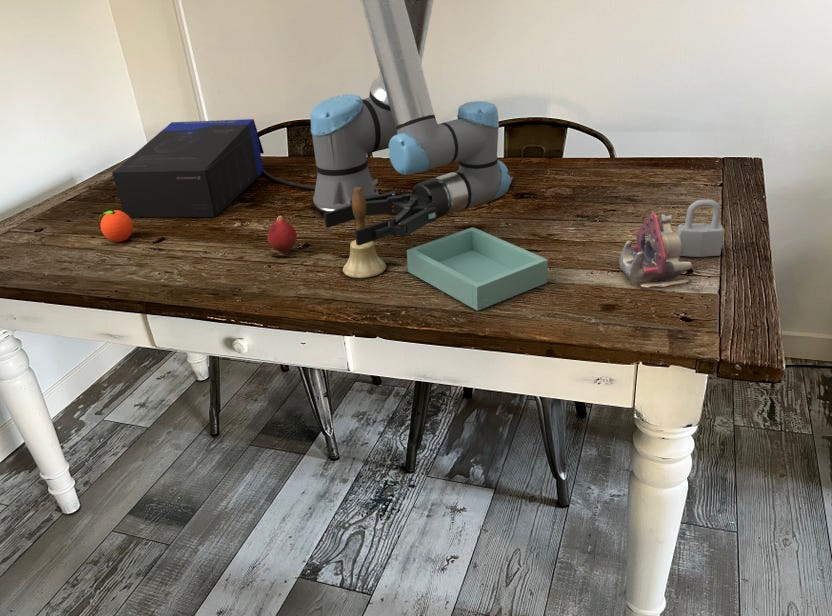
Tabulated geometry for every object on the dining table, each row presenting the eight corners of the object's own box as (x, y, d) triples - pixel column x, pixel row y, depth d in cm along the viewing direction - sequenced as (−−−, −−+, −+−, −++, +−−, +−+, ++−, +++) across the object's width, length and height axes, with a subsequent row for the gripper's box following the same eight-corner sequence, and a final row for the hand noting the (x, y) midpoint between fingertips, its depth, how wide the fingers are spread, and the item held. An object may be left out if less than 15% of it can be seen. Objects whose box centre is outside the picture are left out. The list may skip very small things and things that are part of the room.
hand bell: (364, 256, 147) (356, 177, 138) (395, 266, 141) (388, 185, 133) (333, 271, 142) (323, 191, 134) (364, 282, 137) (355, 199, 128)
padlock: (677, 257, 132) (685, 204, 127) (674, 248, 135) (681, 195, 130) (721, 257, 131) (730, 203, 125) (716, 248, 134) (725, 194, 129)
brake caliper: (597, 252, 132) (644, 195, 127) (642, 280, 135) (689, 226, 130) (622, 280, 122) (673, 219, 117) (670, 309, 126) (721, 251, 121)
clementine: (95, 245, 167) (86, 215, 163) (113, 233, 172) (105, 204, 169) (124, 247, 164) (116, 217, 160) (142, 235, 170) (134, 205, 166)
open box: (407, 271, 139) (406, 250, 137) (473, 248, 145) (472, 226, 142) (477, 310, 123) (477, 287, 121) (547, 282, 129) (548, 259, 127)
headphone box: (267, 169, 203) (259, 115, 195) (215, 217, 174) (202, 157, 167) (186, 170, 209) (175, 118, 202) (123, 217, 181) (107, 159, 174)
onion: (277, 261, 149) (270, 224, 145) (266, 252, 153) (260, 216, 149) (303, 253, 151) (297, 216, 147) (292, 245, 155) (286, 208, 151)
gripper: (476, 232, 137) (376, 267, 129) (406, 201, 155) (313, 230, 146) (476, 193, 133) (372, 227, 125) (403, 165, 151) (308, 194, 142)
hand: (340, 229), depth 135 cm, fingers open, 11 cm apart
